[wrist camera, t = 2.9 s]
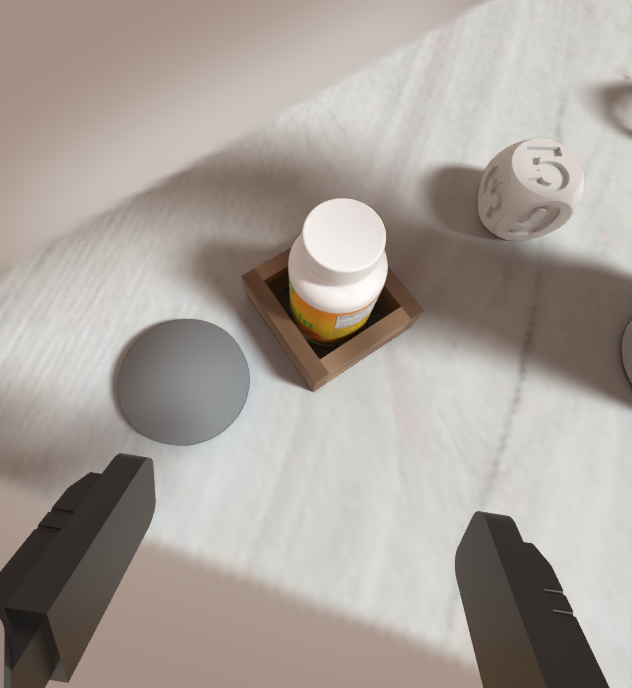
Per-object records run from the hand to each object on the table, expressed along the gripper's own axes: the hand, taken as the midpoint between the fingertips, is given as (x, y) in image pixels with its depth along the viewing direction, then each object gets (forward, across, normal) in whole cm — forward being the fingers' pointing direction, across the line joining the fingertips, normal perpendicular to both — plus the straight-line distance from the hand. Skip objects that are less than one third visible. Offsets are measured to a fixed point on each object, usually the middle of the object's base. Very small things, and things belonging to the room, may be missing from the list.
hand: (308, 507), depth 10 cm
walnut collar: (+19, 0, +2) cm, 19 cm away
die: (+26, -13, -5) cm, 30 cm away
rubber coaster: (+14, +8, +7) cm, 18 cm away
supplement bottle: (+19, 0, +3) cm, 19 cm away
